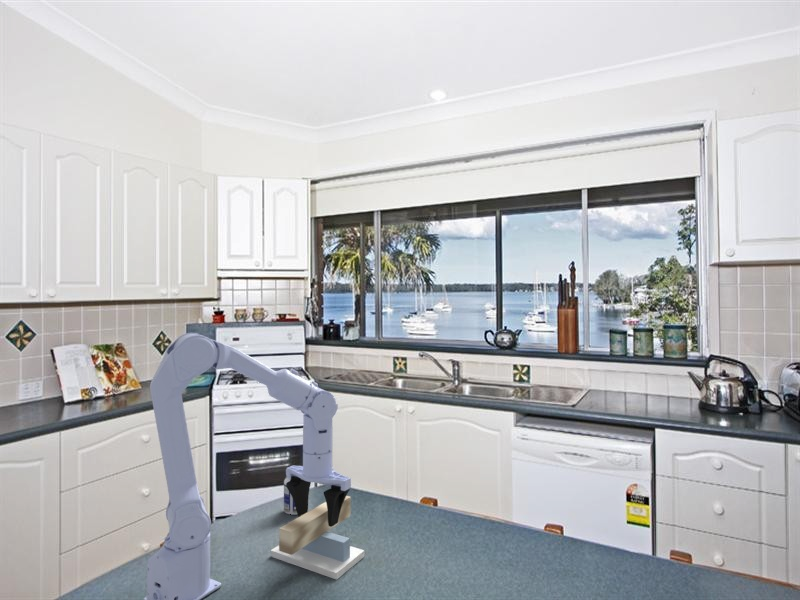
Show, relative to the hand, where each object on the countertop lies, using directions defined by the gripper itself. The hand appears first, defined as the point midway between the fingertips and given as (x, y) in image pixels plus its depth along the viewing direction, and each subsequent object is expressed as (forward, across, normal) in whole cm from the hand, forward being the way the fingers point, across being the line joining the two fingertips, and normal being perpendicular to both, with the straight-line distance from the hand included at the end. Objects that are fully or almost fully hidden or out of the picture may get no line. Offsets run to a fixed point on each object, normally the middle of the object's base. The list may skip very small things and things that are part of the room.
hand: (317, 520), depth 93 cm
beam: (+2, 0, 0) cm, 2 cm away
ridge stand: (+7, 0, 0) cm, 7 cm away
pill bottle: (+7, +18, -14) cm, 24 cm away
